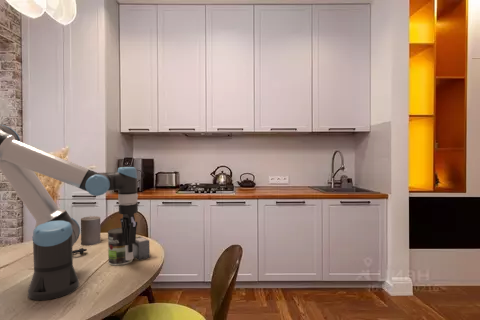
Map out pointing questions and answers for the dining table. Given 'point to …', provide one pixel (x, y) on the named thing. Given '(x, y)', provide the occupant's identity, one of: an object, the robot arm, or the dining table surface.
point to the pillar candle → (90, 230)
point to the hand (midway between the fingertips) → (129, 259)
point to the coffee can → (116, 248)
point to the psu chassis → (141, 248)
